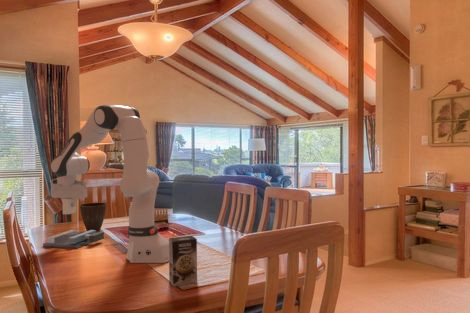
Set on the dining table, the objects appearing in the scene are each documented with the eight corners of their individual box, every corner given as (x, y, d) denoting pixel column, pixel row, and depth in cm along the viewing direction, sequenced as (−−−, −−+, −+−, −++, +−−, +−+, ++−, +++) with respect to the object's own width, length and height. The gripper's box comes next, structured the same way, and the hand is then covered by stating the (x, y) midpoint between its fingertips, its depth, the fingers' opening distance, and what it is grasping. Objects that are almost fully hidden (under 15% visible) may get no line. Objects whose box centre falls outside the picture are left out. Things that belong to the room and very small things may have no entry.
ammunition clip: (151, 229, 218) (151, 210, 217) (150, 229, 219) (150, 209, 219) (168, 227, 222) (168, 208, 222) (167, 227, 224) (167, 208, 224)
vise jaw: (109, 236, 195) (109, 229, 195) (88, 245, 178) (88, 238, 178) (91, 235, 198) (91, 229, 198) (68, 243, 181) (68, 237, 180)
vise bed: (101, 238, 198) (101, 230, 198) (77, 248, 178) (76, 239, 178) (70, 236, 203) (69, 228, 202) (43, 246, 183) (42, 237, 183)
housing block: (76, 212, 193) (75, 197, 193) (68, 214, 187) (68, 199, 187) (70, 212, 194) (70, 197, 194) (62, 214, 188) (62, 198, 188)
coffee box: (173, 287, 127) (172, 241, 126) (169, 281, 133) (168, 237, 132) (198, 282, 130) (197, 238, 130) (192, 277, 136) (192, 234, 136)
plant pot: (97, 227, 228) (97, 201, 227) (112, 229, 219) (111, 203, 218) (75, 231, 215) (74, 205, 215) (89, 234, 207) (88, 207, 206)
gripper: (89, 179, 191) (90, 205, 191) (56, 179, 195) (57, 205, 196) (81, 181, 184) (82, 207, 185) (48, 180, 189) (48, 206, 190)
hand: (69, 206), depth 190 cm, fingers closed on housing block, 3 cm apart
